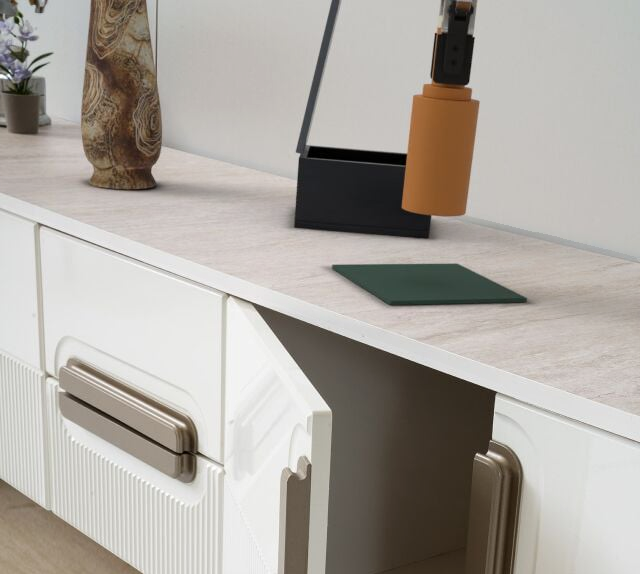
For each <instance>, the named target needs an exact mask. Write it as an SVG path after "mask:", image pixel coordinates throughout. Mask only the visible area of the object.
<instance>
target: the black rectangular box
mask: <svg viewBox="0 0 640 574" xmlns="http://www.w3.org/2000/svg"><path fill="white" fill-rule="evenodd" d="M406 161H407V152H395V151H382V150H372V149H360V148H359V149H358V148H348V147H336V146H321V145H311V144H306V147H305V149H304V152H303V154H300V153H299V156H298V163H297V177H296V178H297V179H296V180H297V181H296V182H297V183H296V193H295V194H296V195H295V209H294V222H293V223H294V224H293V226H294V228H299V229H313V230H324V231H334V232H335V231H336V232H348V233H359V234H372V235H385V236H395V237H407V238H421V239H429V238H430V231H431V224H432V215H424V214H418V213H413V212H409V211H406V210H404V209H403V208H402V199H403V189H404V180H405V170H406Z"/></svg>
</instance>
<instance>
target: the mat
mask: <svg viewBox="0 0 640 574" xmlns="http://www.w3.org/2000/svg"><path fill="white" fill-rule="evenodd" d="M331 269H332V270H334V271H336V273H338V274H340V275H342V276H343V277H344V278H347V280H349V281H351V282H352V283H354V284H355V285H357V286H359V287H361V288H362V289H364V290H365V291H366V292H368V293H370V294H372V295H373V296H375V297H376V298H377V299H380V300H381V301H382V302H384V303H386V304H387V305H389V306H411V305H413V306H415V305H417V306H418V305H453V304H455V305H457V304H461V305H462V304H497V303H499V304H500V303H501V304H503V303H505V304H506V303H527V302H528V301H527V300H528V297H526V296H524V295H522V294H520V293H517V292H516V291H514V290H512V289H510V288H508V287H506V286H503V285H501V284H500V283H498V282H496V281H493V280H491V279H489V278H488V277H486V276H483V275H481V274H479V273H478V272H475V271H474V270H471V269H470V268H467V267H465V266H464V265H461V264H459V263H370V264H369V263H367V264H366V263H365V264H364V263H362V264H360V263H359V264H358V263H357V264H355V263H353V264H346V263H345V264H331Z"/></svg>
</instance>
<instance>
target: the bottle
mask: <svg viewBox="0 0 640 574" xmlns="http://www.w3.org/2000/svg"><path fill="white" fill-rule="evenodd" d="M449 17H450V16H449ZM442 18H443V16H441V15H439V14H438V15H437V19H436V26H435V27H436V33H437V35H438V34H441V27H442ZM436 44H437V37H436ZM435 53H436V46H435ZM434 62H435V55H434ZM433 71H434V64H433ZM472 94H473V88H472V87H467V86H466V85H465V86H464V85H452V84H440V83H435V82H434V81H433V73H432V79H431V83H424V84H423V85H422V94H413V95H412V104H411V113H410V125H409V134H408V143H407V151H406V153H407V161H406V170H405V180H404V189H403V199H402V208H403V209H404V210H406V211H409V212H413V213H418V214H424V215H431V217H432V216H434V217H461V216H464V215H466V213H467V207H468V205H467V204H468V198H469V190H470V181H471V174H472V166H473V159H474V150H475V142H476V134H477V128H478V118H479V112H480V111H479V110H480V102H481V101H480V100H478V99H474V98H472Z"/></svg>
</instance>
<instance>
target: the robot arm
mask: <svg viewBox="0 0 640 574" xmlns="http://www.w3.org/2000/svg"><path fill="white" fill-rule="evenodd" d="M478 1H479V0H440V2H439V3H440V4H439V12H438V15H441V16H443V18H442V27H441V34H438V35H437V32H434V36H433V46H432V56H431V66H430V74H429V76H430V77H429V78H430V79H431V80H432V73H433V81H434V82H435V83H440V84H452V85H464V86H465V87H466V86H468V85H469V84H470V80H471V73H472V63H473V57H474V48H475V39H476V37H475V36H474V32H475V23H476V15H477V5H478ZM449 16H450V17H449ZM436 37H437V44H436ZM435 46H436V53H435ZM434 55H435V62H434ZM433 64H434V71H433Z"/></svg>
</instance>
